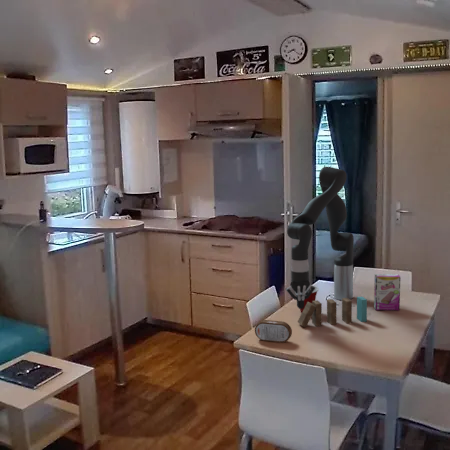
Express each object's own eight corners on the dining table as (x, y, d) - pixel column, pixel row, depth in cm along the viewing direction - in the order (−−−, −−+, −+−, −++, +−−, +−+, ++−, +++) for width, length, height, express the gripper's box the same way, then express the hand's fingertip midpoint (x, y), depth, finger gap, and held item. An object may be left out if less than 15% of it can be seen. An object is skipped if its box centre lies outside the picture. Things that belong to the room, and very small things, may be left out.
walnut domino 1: (301, 325, 242) (311, 304, 241) (297, 321, 247) (307, 301, 246) (305, 327, 242) (316, 306, 242) (302, 323, 247) (312, 303, 247)
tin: (292, 341, 227) (291, 321, 226) (290, 344, 224) (290, 323, 223) (256, 338, 232) (255, 318, 231) (254, 340, 229) (253, 321, 228)
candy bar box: (375, 310, 262) (375, 276, 259) (373, 307, 266) (374, 273, 264) (400, 310, 260) (400, 276, 258) (398, 307, 265) (398, 273, 263)
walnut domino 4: (346, 323, 246) (346, 301, 244) (342, 319, 251) (342, 298, 249) (351, 323, 246) (351, 300, 245) (347, 319, 251) (347, 297, 249)
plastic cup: (303, 317, 256) (303, 291, 254) (291, 311, 265) (290, 286, 263) (323, 313, 260) (323, 288, 258) (310, 307, 270) (310, 283, 268)
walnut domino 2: (315, 326, 243) (316, 304, 242) (312, 322, 248) (312, 300, 247) (321, 326, 244) (321, 303, 242) (317, 322, 249) (317, 300, 247)
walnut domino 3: (331, 325, 244) (331, 302, 243) (327, 321, 249) (326, 299, 248) (336, 324, 245) (336, 302, 243) (332, 320, 250) (332, 299, 248)
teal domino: (361, 322, 247) (361, 300, 245) (356, 318, 252) (356, 296, 250) (366, 321, 247) (366, 299, 246) (361, 318, 252) (362, 296, 251)
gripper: (311, 266, 245) (312, 304, 248) (282, 268, 243) (283, 307, 246) (317, 270, 238) (318, 309, 241) (287, 272, 236) (288, 312, 239)
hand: (300, 308), depth 243 cm, fingers closed
